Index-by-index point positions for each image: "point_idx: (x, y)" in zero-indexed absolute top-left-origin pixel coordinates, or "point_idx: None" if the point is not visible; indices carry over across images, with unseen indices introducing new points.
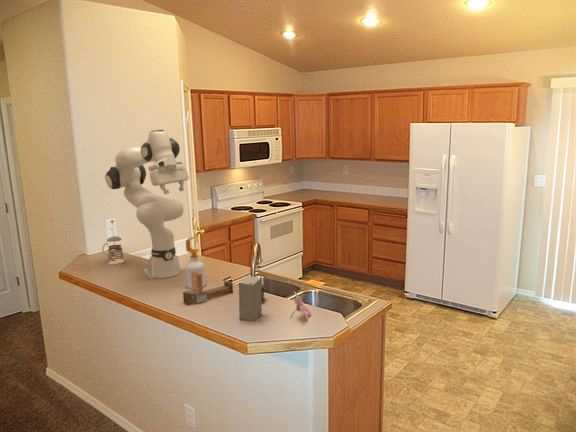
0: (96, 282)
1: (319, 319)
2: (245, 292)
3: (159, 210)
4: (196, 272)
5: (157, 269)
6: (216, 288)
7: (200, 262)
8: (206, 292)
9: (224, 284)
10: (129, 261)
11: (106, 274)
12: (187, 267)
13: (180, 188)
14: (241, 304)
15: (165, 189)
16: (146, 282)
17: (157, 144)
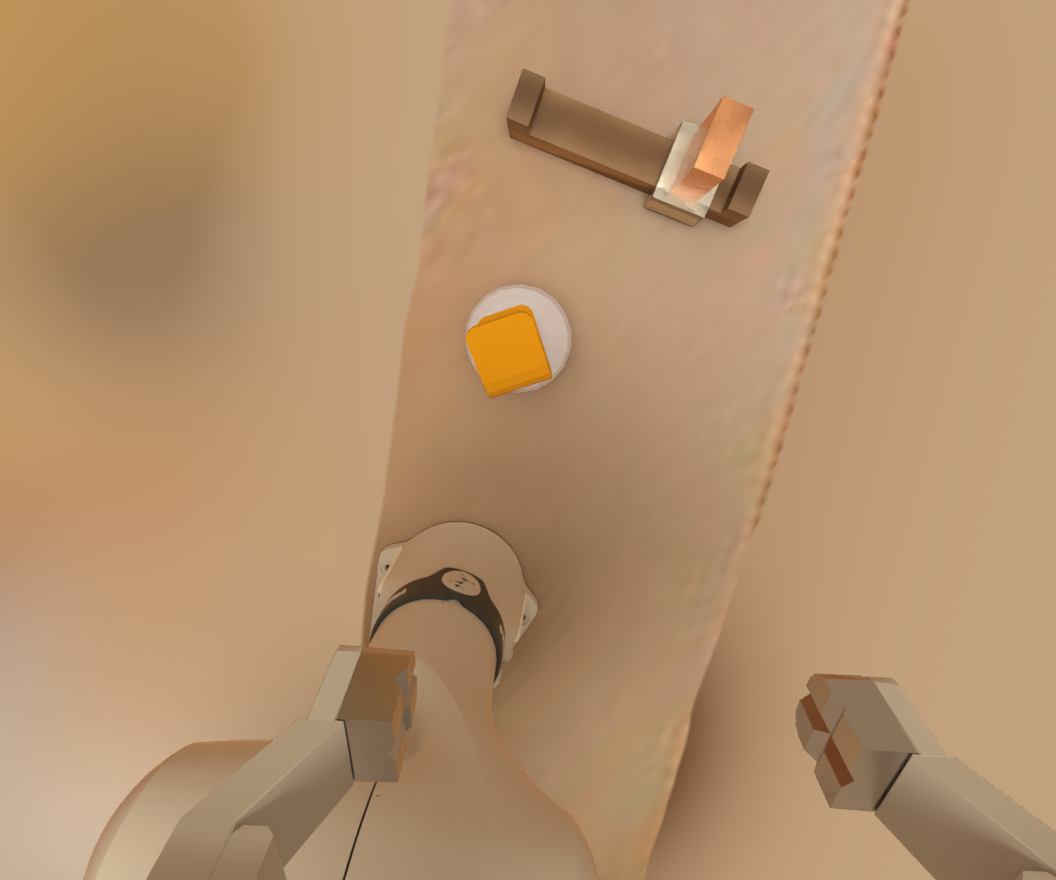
0: (674, 754)
1: None
2: None
3: (442, 846)
4: (705, 154)
5: (513, 591)
6: (583, 142)
7: (501, 306)
8: (652, 150)
9: (529, 130)
10: None
11: (579, 796)
12: (568, 348)
13: (402, 715)
14: None
15: (966, 768)
16: (586, 573)
17: None
